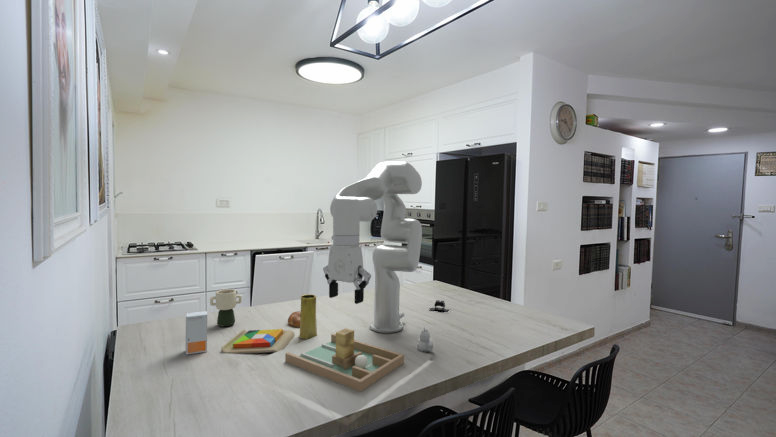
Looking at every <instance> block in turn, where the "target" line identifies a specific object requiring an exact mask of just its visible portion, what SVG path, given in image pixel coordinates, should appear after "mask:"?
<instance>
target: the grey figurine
mask: <svg viewBox="0 0 776 437" xmlns="http://www.w3.org/2000/svg"><path fill="white" fill-rule="evenodd" d="M430 338H431V335H430V332H429V330H428V329H426V328H425V327H423V330H421V332H420V334H419V340H417V343H416V348H417V350H418V351H419V352H421V353H424V354H425V353H428V352H433V351H434V342H433V341H432V340H430Z"/></svg>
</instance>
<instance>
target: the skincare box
mask: <svg viewBox="0 0 776 437" xmlns="http://www.w3.org/2000/svg"><path fill="white" fill-rule="evenodd" d="M207 352H208V310H204V311H203V310H202V311H194V312H188V313H185V355H186V356H189V355H192V354H193V355H194V354H200V353H201V354H202V353H207Z"/></svg>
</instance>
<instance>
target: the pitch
mask: <svg viewBox="0 0 776 437" xmlns="http://www.w3.org/2000/svg"><path fill="white" fill-rule="evenodd" d="M358 352H362V355H364V356H366V358H367V360H368V363H367V366H366V367H365V368H360V367H357V366H356V365H353V366H352V367H350V368H348V369H346V370H345V369H343V367H342V366H339V365H336V364H334V363H332V356H333V355H335V354H336V333H331V336H330V341H329V342H327V343H321V345H320V346H318V347H316V348H313V349H311V350H309V351H306V352H300V354H299V355H297V354H294V353H291V352H286V353H285V356H284V358H285V363H288V364H290V365H292V366H295V367H296V368H297V367H298V368H300V369H302V370H305V371H308V372H310V373H312V374H315V375H318V376H320V377H322V378H325V379H328V380H330V381H333V382H335V383H337V384H340V385H342V386H345V387H348V388H350V389H352V390H355V391H357V392H360V393H362V392H363V391H364V390H365V389H367V388H369V387H370V386H372V385H373V384H375V383H376V382H378V381H379V380H381V379H382V378H384V377H385V376H387V375H388V374H389V373H391V372H393V371H394V370H396V369H398V368H399V367H400V366H401V365H403V364H404V363H405V354H402V353H399V352H396V351H392V350H389V349H387V348H382V347H379V346H376V345H373V344H369V343H366V342H362V341H359V340H356V339H354V353H355V354H356V353H358Z"/></svg>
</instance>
